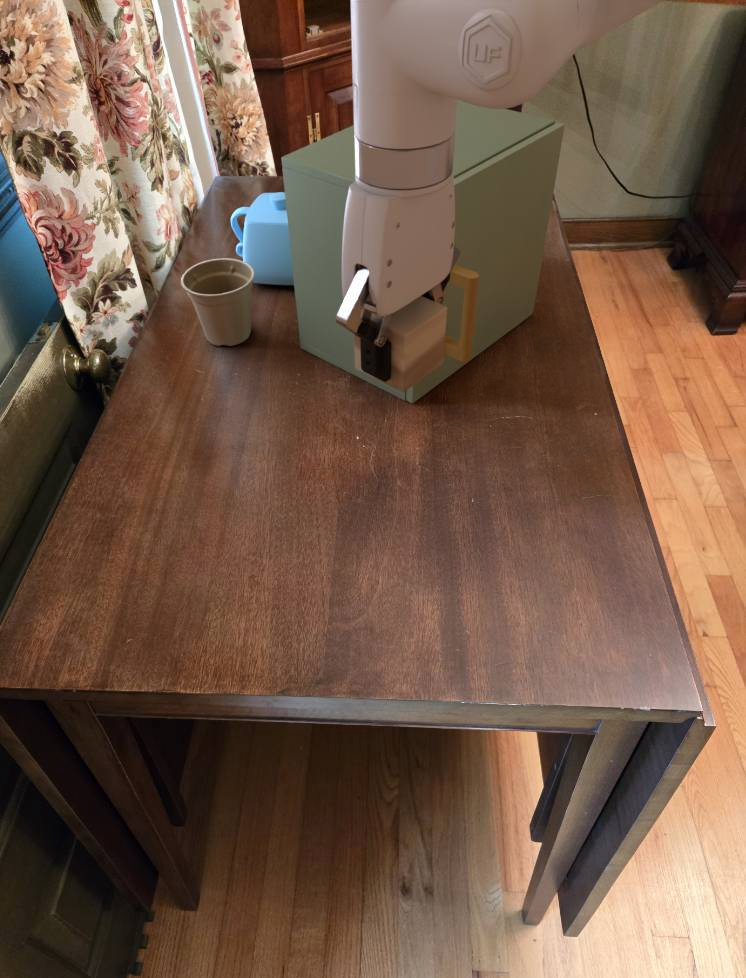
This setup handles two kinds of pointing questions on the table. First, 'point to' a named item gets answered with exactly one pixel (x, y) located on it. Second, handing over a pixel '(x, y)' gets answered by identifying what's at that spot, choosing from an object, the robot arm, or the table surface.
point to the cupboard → (321, 208)
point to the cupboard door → (496, 249)
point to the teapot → (266, 239)
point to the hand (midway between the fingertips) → (399, 357)
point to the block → (412, 342)
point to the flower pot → (221, 298)
